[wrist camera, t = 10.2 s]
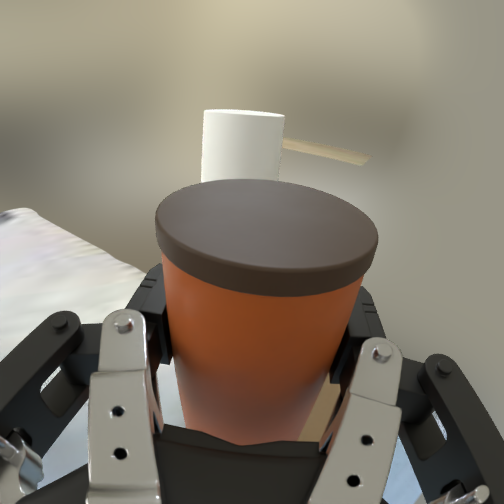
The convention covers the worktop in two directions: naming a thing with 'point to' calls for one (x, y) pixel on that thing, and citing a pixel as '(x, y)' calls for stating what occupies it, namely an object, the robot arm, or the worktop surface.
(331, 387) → the black canister
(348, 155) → the worktop surface
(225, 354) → the orange tin
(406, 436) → the robot arm
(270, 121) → the cylindrical container
